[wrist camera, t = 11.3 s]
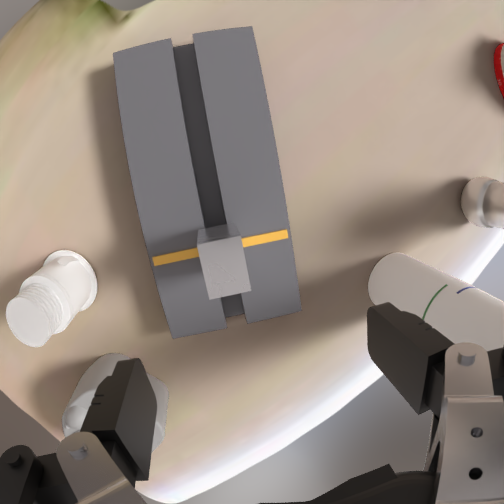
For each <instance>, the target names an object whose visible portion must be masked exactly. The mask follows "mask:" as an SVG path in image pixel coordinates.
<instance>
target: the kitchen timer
mask: <svg viewBox="0 0 504 504" xmlns="http://www.w3.org/2000/svg"><path fill="white" fill-rule="evenodd" d="M494 68H495V74H496V78H497V81H498V85H499V88H500V91H501V93H502V95H503V98H504V43H503V44H499V45H498V46H497V47H496V49H495V53H494Z"/></svg>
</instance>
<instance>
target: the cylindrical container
mask: <svg viewBox="0 0 504 504" xmlns="http://www.w3.org/2000/svg"><path fill="white" fill-rule="evenodd" d="M368 292H369V296H370V299H371V300H372V302H373V303H374V304H375V305H379V304H383V303H386V302H390V303H391V304H393V305H394V306H395V307H396V308H398V309H399V310H400V311H406V312H409V313H412V314H415V315H417V316H418V317H420V318H421V319H423V320H424V321H425V323H428V324H429V325H431V326H432V328H435V329H436V330H437V331H439V332H440V333H441V334H443V335H444V336H445V337H447V338H448V339H449V340H451V341H452V342H453V343H454V344H457V343H462V342H470V343H475V344H477V345H480V346H481V347H483V348H484V349H485V350H486V351H490V350H494V349H498V348H502V347H503V345H504V301H502V300H500V299H498V298H496V297H494V296H492V295H490V294H488V293H486V292H484V291H482V290H480V289H478V288H476V287H474V286H472V285H470V284H468V283H466V282H464V281H462V280H460V279H458V278H456V277H454V276H451V275H449V274H447V273H445V272H443V271H441V270H439V269H437V268H435V267H432V266H430V265H428V264H426V263H424V262H422V261H420V260H417V259H415V258H413V257H411V256H409V255H406V254H404V253H401V252H395V253H391V254H388V255H386V256H385V257H383V258H382V259H381V260H380V261H379V262H378V263H377V264H376V265H375V267H374V268H373V270H372V272H371V274H370V277H369V282H368Z"/></svg>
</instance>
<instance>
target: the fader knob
mask: <svg viewBox="0 0 504 504" xmlns="http://www.w3.org/2000/svg"><path fill="white" fill-rule="evenodd" d="M197 248H198V253H199V257H200V262H201V266H202V270H203V275H204V279H205V283H206V287H207V291H208V296H209V300H211V299H215V298H220V297H225V296H230V295H234V294H239V293H244V292H248V291H251V286H250V281H249V276H248V270H247V265H246V260H245V255H244V250H243V244H242V239H241V235H240V233H239V232H238V230H237V228H236V226H235V225H234V223H228V224H223V225H218V226H214V227H209V228H204V229H199V230H198V238H197Z"/></svg>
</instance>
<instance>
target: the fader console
mask: <svg viewBox="0 0 504 504" xmlns="http://www.w3.org/2000/svg"><path fill="white" fill-rule="evenodd" d="M113 59H114V69H115V78H116V87H117V95H118V103H119V110H120V117H121V124H122V130H123V136H124V142H125V148H126V154H127V160H128V165H129V170H130V176H131V181H132V186H133V190H134V195H135V200H136V205H137V209H138V214H139V218H140V222H141V227H142V231H143V235H144V239H145V243H146V247H147V251H148V255H149V259H150V263H151V267H152V270H153V274H154V278H155V281H156V285H157V289H158V292H159V296H160V299H161V302H162V306H163V309H164V312H165V316H166V319H167V322H168V325H169V329H170V332H171V335H172V338H173V339H174V338H179V337H185V336H190V335H195V334H200V333H205V332H210V331H215V330H220V329H225V328H227V324H226V317H231V316H236V315H240V314H245V317H246V321H247V324H248V323H253V322H257V321H262V320H266V319H270V318H275V317H279V316H283V315H287V314H291V313H295V312H299V311H302V309H301V302H300V294H299V287H298V280H297V273H296V266H295V259H294V252H293V245H292V238H291V232H290V225H289V219H288V213H287V206H286V200H285V194H284V188H283V182H282V176H281V171H280V165H279V159H278V153H277V148H276V142H275V137H274V131H273V126H272V121H271V115H270V110H269V105H268V100H267V95H266V90H265V85H264V80H263V75H262V70H261V65H260V61H259V56H258V51H257V47H256V42H255V37H254V33H253V28H252V26H250V27H239V28H230V29H222V30H215V31H208V32H202V33H196V34H193V44H188V45H183V46H178V47H173V45H172V41H171V38H170V39H165V40H160V41H156V42H152V43H148V44H144V45H140V46H136V47H132V48H129V49H125V50H122V51H118V52H115V53H113ZM228 223H234V225H235V226H236V228H237V230H238V232H239V233H240V235H241V239H242V244H243V250H244V255H245V260H246V265H247V270H248V276H249V281H250V286H251V291H248V292H244V293H239V294H234V295H230V296H225V297H220V298H215V299H211V300H209V296H208V291H207V287H206V283H205V279H204V275H203V270H202V266H201V262H200V257H199V253H198V248H197V238H198V230H199V229H204V228H209V227H214V226H218V225H223V224H228Z"/></svg>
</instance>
